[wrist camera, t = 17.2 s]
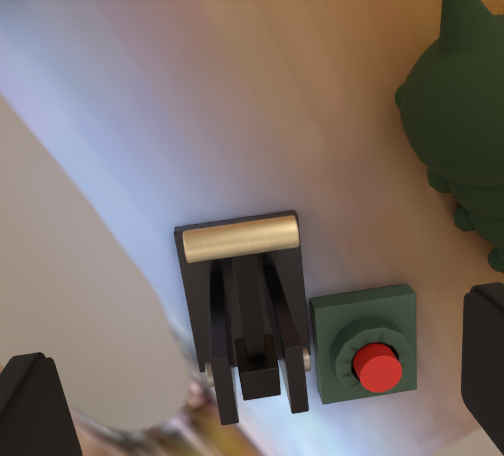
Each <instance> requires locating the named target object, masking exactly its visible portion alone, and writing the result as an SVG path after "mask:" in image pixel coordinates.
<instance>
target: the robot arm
mask: <svg viewBox="0 0 504 456" xmlns="http://www.w3.org/2000/svg"><path fill="white" fill-rule="evenodd" d="M461 394H462V398H463V401H464V403H465V405H466V407H467V408H468V410H469V411H470V412H471V414H472V415H473V416H474V418H475V419H476V420H477V421H478V423H479V424H480V425H481V427H482V428H483V429H484V431H485V432H486V433H487V434H488V436H489V437H490V438H491V440H492V441H493V442H494V444H495V445H496V446H497V448H498V449H499V450H500V452H501V453H502V454H503V455H504V284H502V283H500V282H495V283H489V284H482V285H476V286H473V287H472V288H471V290H470V293H467V294H465V296H464V308H463V341H462V374H461ZM0 456H83V455H82V450H81V447H80V444H79V440H78V437H77V434H76V431H75V427H74V424H73V421H72V418H71V414H70V411H69V408H68V405H67V401H66V398H65V395H64V392H63V389H62V385H61V382H60V379H59V375H58V372H57V369H56V366H55V363H54V360H53V359H52V358H50V357H49V358H46V357H45V355H44V354H43V353H41V352H38V353H32V354H25V355H18V356H14V357H12V358H11V359H10V360H9V362H8V363H7V365H6V366H5V368H4V369H3V371H2V372H1V374H0Z"/></svg>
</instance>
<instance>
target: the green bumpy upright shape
mask: <svg viewBox="0 0 504 456" xmlns="http://www.w3.org/2000/svg"><path fill="white" fill-rule="evenodd" d="M395 102H396V104H397V106H398V107H399V109H400V114H401V121H402V125H403V128H404V131H405V134H406V136H407V139H408V141H409V143H410V145H411V147H412V149H413V150H414V152H415V153H416V154H417V156H418V157H419V159H420V160H421V161H422V162H423V163H424V164H425V165H426V166H427V167H428V170H427V175H428V180H429V183H430V186H432V187H433V188H434V189H436V190H437V191H440V192H443V193H452V194H453V196H454V197H455V199H456V200H457V201H458V202H459V203H460V204H461V205H462V207H460V208H458V209H457V210H456V211H455V213H454V220H455V225H456V227H458V228H459V229H461V230H462V231H473V230H476V231H477V232H478V234H479V235H480V236H481V237H482V238H483V239H485V240H486V241H487V242H489V243H490V244H492V245H493V246H496V247H495V248H493V249H492V250H491V251H490V252H489V255H488V262H489V264H490V266H491V267H492V269H494V270H496V271H498V272H501V273H504V15H492V14H491V12H490V11H489V10H488V9H487V8H486V7H485V5H484V4H483V3H482V2H481V1H480V0H442V10H441V24H440V36H439V38H438V39H437V40H436V41H434V42H433V43H432V44H431V45H430V46H429V47H428V48H427V50H426V51H425V52H424V53H423V54H422V55H421V57H420V58H419V60H418V61H417V62H416V64H415V65H414V67H413V69H412V70H411V72H410V74H409V75H408V76H407V80H406V82H405V83H404V84H403V85H401V86H400V87H399V88H398V89H397V91H396V93H395Z"/></svg>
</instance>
